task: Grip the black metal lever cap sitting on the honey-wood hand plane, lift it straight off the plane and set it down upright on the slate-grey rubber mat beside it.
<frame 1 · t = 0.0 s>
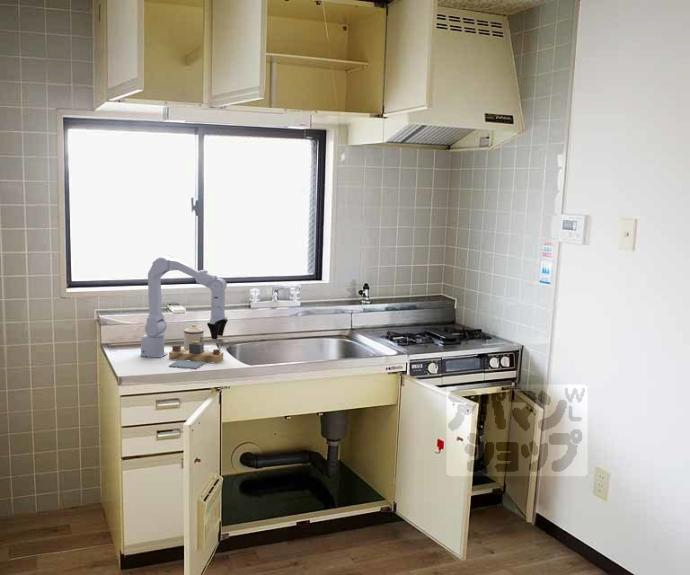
hand: (217, 337, 311), 10 cm above the table, tool pointing down, fingers open, 7 cm apart
lever cap: (196, 352, 312), point 3 cm above the table, touching hand plane
slate mat: (187, 365, 302), on the table
teacup with lid: (194, 349, 332), on the table
hand plane: (196, 359, 313), on the table
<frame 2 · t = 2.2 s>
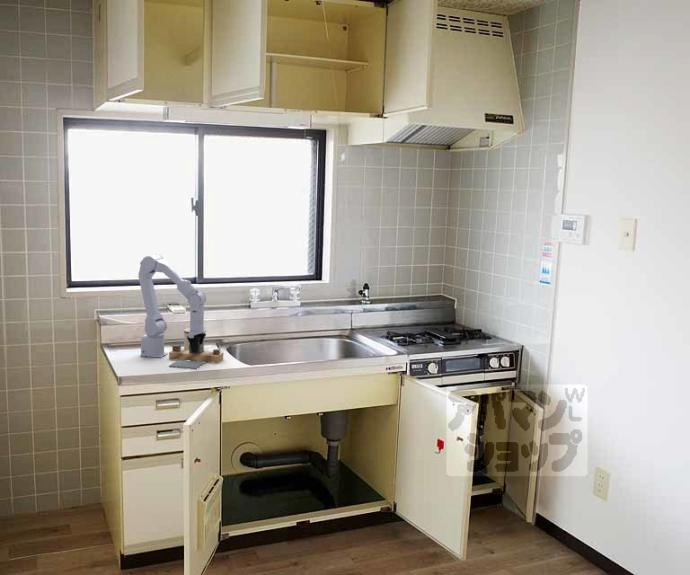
hand: (196, 351, 312), 4 cm above the table, tool pointing down, fingers closed on lever cap, 4 cm apart
lever cap: (196, 352, 312), point 3 cm above the table, touching gripper, hand plane
everything else where it was.
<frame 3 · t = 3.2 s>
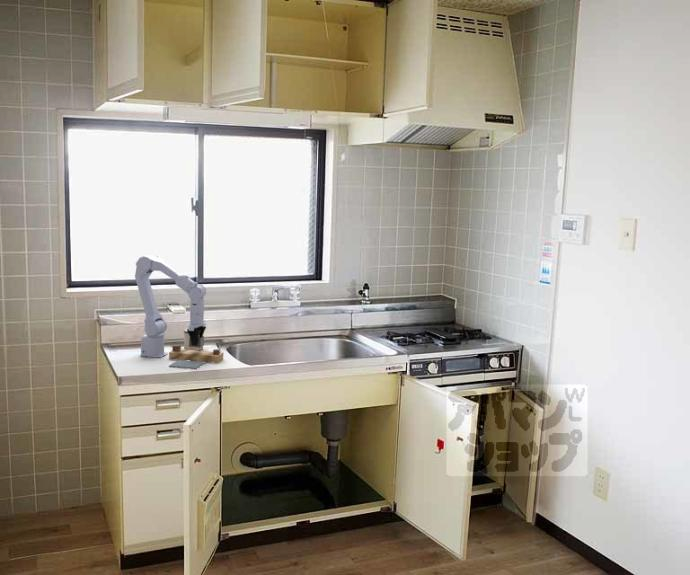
hand: (196, 344, 312), 7 cm above the table, tool pointing down, fingers closed on lever cap, 4 cm apart
lever cap: (196, 345, 312), point 6 cm above the table, touching gripper
everything else where it was.
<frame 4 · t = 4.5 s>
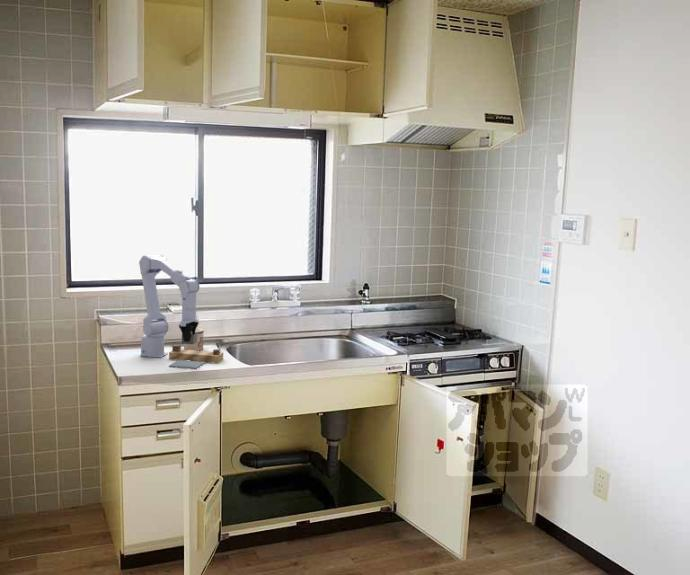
hand: (188, 340, 302), 10 cm above the table, tool pointing down, fingers closed on lever cap, 4 cm apart
lever cap: (189, 342, 302), point 9 cm above the table, touching gripper
everything else where it was.
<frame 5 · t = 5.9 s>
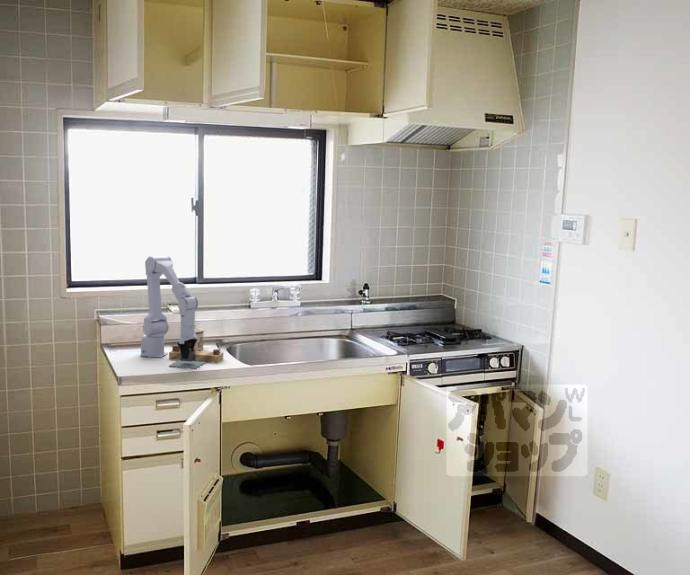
hand: (187, 357, 301), 3 cm above the table, tool pointing down, fingers closed on lever cap, 4 cm apart
lever cap: (187, 359, 301), point 2 cm above the table, touching gripper
everything else where it was.
when the fingers open (3 cm above the table, at t = 7.0 s): lever cap stays where it is, resting on slate mat.
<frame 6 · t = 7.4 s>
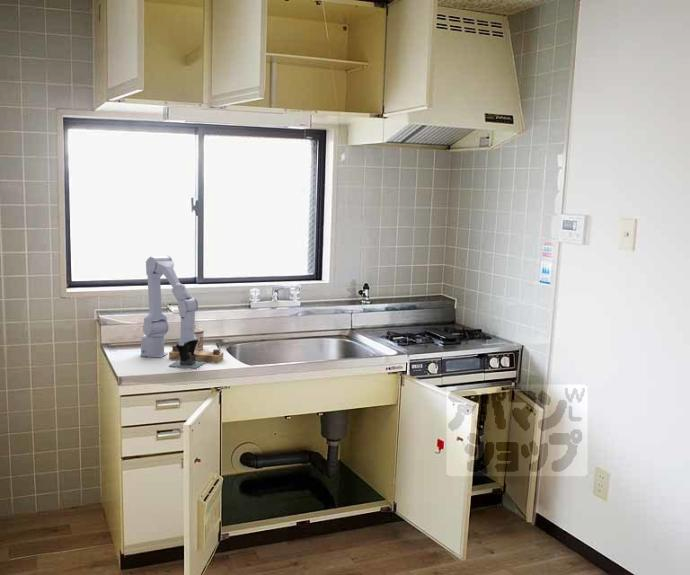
hand: (187, 358, 301), 3 cm above the table, tool pointing down, fingers open, 7 cm apart
lever cap: (187, 363, 302), point 1 cm above the table, touching slate mat
everything else where it was.
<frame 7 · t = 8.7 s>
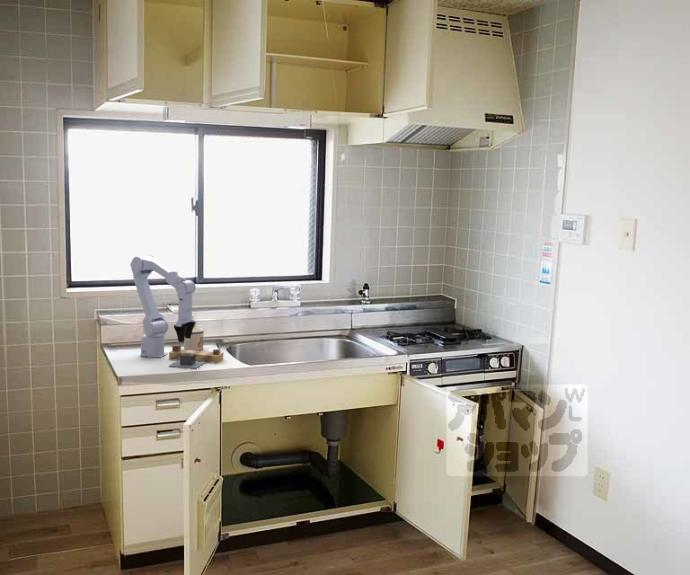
hand: (184, 340, 307), 9 cm above the table, tool pointing down, fingers open, 7 cm apart
nothing on the table moved.
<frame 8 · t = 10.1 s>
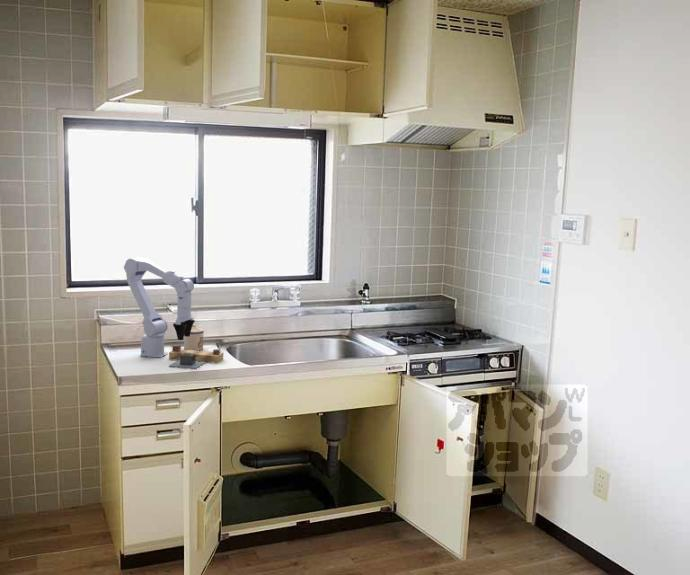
hand: (183, 338, 310), 9 cm above the table, tool pointing down, fingers open, 7 cm apart
nothing on the table moved.
at the end: lever cap inside the target area on the slate mat (0.3 cm from its centre), point 0.6 cm above the slate mat's base; lever cap tilted 0°; the gripper is holding nothing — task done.
